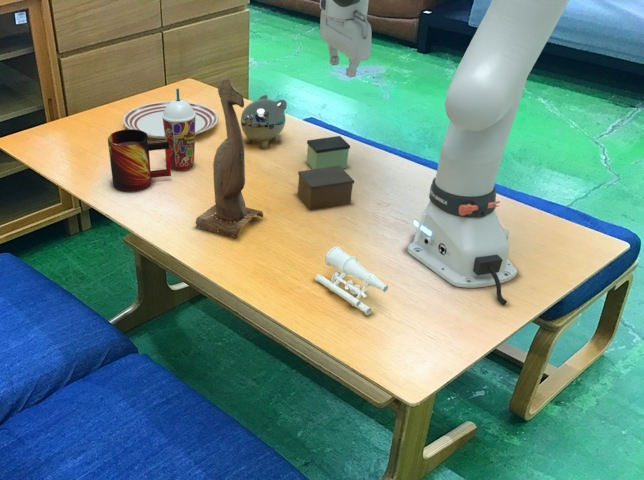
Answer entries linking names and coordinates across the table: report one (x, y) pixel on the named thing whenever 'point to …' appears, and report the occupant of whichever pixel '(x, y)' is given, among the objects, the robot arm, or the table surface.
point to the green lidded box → (327, 152)
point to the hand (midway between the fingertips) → (342, 70)
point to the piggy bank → (263, 120)
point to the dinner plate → (152, 121)
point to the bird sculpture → (228, 173)
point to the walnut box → (325, 187)
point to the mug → (134, 160)
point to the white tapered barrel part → (352, 268)
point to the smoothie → (180, 133)
